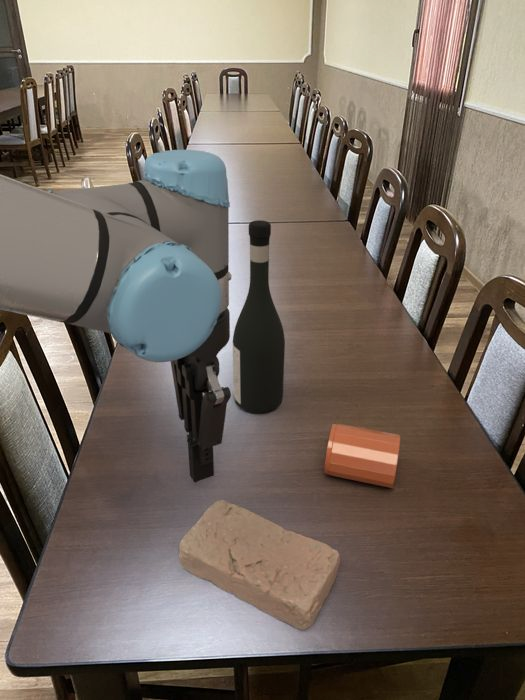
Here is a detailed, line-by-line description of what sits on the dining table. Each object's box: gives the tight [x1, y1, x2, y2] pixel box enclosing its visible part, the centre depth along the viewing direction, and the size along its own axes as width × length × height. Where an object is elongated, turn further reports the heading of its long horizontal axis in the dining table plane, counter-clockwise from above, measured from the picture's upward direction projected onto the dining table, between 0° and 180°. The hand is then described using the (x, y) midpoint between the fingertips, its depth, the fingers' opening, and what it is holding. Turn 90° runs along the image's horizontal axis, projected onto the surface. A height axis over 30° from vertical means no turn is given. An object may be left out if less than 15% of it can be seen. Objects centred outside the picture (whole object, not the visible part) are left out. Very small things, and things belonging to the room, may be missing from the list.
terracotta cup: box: [323, 422, 401, 489], centre depth 72 cm, size 7×7×9 cm
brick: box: [178, 499, 341, 631], centre depth 59 cm, size 17×8×5 cm, turn 60°
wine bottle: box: [232, 219, 286, 414], centre depth 81 cm, size 8×8×30 cm
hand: (201, 475), depth 68 cm, fingers closed
